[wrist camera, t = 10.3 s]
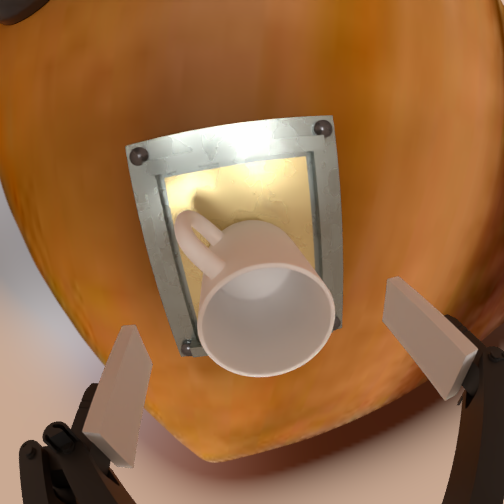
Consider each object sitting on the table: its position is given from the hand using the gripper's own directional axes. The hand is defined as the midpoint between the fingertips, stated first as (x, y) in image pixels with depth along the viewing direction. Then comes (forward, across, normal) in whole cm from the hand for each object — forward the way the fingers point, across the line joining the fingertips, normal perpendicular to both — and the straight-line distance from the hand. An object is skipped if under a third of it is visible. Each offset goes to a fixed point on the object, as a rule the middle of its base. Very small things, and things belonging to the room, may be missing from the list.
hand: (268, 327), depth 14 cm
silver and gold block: (+17, 0, -1) cm, 17 cm away
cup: (+12, -1, 0) cm, 12 cm away
